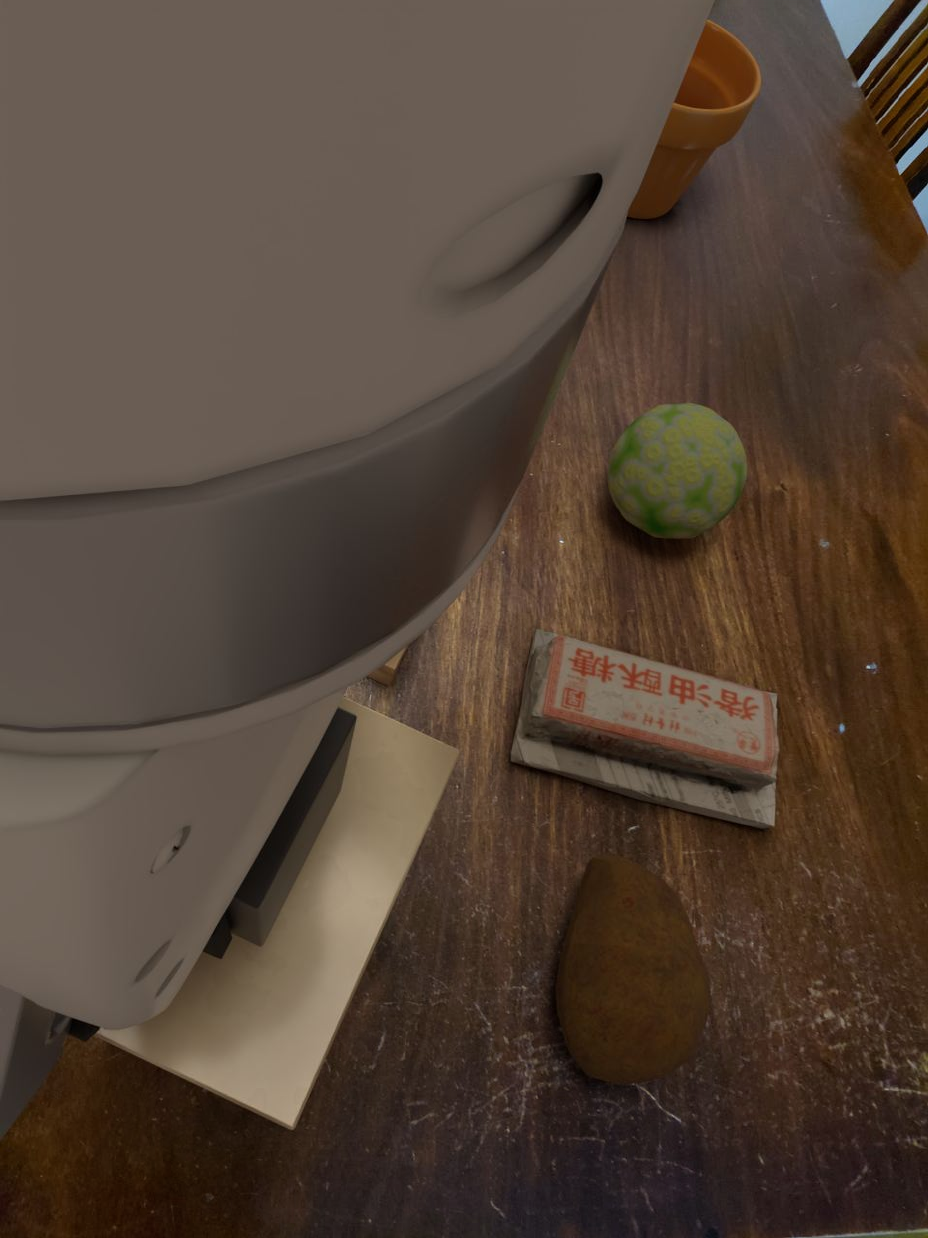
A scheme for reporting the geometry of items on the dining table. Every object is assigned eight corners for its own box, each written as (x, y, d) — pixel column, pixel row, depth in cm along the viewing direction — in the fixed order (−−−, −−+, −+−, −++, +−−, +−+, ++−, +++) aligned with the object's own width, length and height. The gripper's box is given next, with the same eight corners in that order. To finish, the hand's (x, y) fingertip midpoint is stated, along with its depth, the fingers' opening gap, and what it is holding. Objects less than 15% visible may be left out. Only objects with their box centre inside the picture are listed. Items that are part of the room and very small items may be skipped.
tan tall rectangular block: (115, 1025, 49) (-67, 959, 23) (219, 839, 55) (167, 612, 28) (283, 1106, 49) (293, 1131, 23) (371, 911, 54) (462, 750, 28)
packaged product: (523, 742, 56) (548, 603, 60) (505, 766, 60) (531, 635, 65) (801, 815, 57) (805, 673, 62) (765, 834, 61) (771, 700, 66)
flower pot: (590, 118, 92) (634, -18, 81) (717, 178, 92) (780, 50, 80) (537, 196, 86) (578, 60, 74) (674, 262, 85) (736, 135, 74)
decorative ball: (704, 579, 70) (767, 507, 61) (580, 540, 69) (624, 461, 60) (718, 479, 74) (777, 398, 65) (601, 441, 74) (645, 355, 65)
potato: (696, 905, 58) (760, 878, 50) (661, 1109, 52) (728, 1114, 45) (571, 860, 58) (617, 827, 50) (523, 1061, 52) (565, 1057, 45)
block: (100, 871, 22) (50, 811, 18) (193, 720, 25) (172, 628, 20) (261, 948, 22) (258, 909, 17) (341, 789, 24) (358, 715, 20)
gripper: (217, -289, 11) (252, 516, 27) (-2224, 1228, 3) (-142, 1109, 19) (774, -48, 11) (480, 621, 27) (-334, 2225, 3) (180, 1266, 19)
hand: (222, 822), depth 23 cm, fingers closed on block, 4 cm apart
